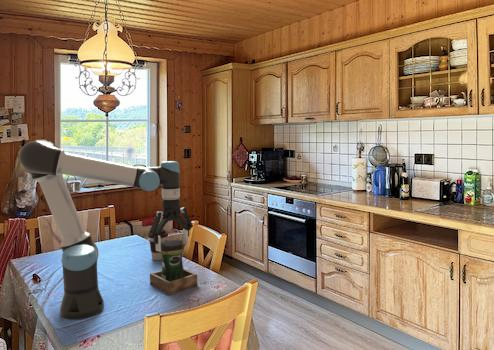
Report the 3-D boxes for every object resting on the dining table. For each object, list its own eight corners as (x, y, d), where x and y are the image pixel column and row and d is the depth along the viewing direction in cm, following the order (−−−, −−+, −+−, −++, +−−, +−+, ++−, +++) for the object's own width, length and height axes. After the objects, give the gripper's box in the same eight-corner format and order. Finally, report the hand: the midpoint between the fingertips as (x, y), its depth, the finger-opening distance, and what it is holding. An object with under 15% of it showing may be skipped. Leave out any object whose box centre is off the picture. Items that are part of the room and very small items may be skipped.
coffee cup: (146, 257, 215) (145, 229, 213) (164, 254, 220) (163, 226, 218) (153, 262, 207) (152, 233, 205) (172, 259, 212) (171, 230, 210)
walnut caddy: (169, 294, 167) (169, 282, 166) (150, 284, 178) (149, 273, 177) (197, 285, 177) (197, 274, 176) (177, 276, 187) (177, 265, 187)
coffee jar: (180, 277, 183) (179, 236, 181) (186, 283, 176) (185, 240, 174) (159, 281, 179) (157, 239, 177) (164, 287, 172) (163, 244, 170)
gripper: (149, 203, 161) (150, 255, 164) (200, 195, 179) (201, 243, 181) (139, 200, 167) (141, 251, 169) (190, 193, 184) (191, 240, 186)
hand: (172, 247), depth 175 cm, fingers open, 13 cm apart
